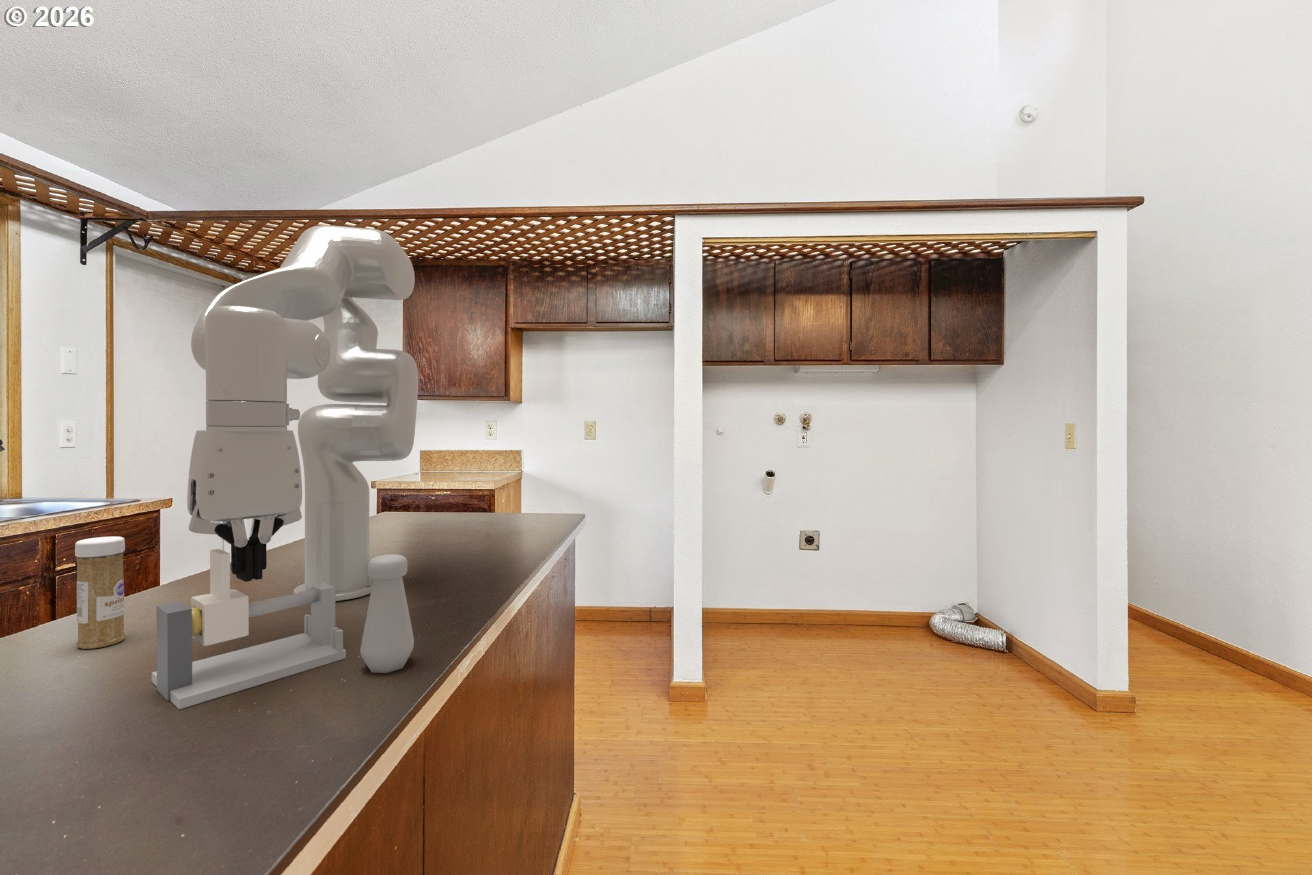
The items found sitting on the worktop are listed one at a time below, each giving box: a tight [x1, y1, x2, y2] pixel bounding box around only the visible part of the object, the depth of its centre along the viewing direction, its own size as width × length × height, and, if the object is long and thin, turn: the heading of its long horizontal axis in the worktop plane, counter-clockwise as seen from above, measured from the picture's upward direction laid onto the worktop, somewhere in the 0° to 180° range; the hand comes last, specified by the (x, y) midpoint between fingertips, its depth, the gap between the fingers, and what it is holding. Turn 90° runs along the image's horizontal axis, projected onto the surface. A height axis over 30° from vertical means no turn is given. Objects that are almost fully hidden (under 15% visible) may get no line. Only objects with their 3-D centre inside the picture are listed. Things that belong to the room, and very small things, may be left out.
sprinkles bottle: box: [74, 536, 126, 650], centre depth 73 cm, size 5×5×14 cm
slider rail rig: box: [151, 583, 347, 710], centre depth 66 cm, size 16×10×9 cm, turn 143°
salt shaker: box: [359, 553, 415, 674], centre depth 67 cm, size 6×6×13 cm
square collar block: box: [190, 548, 250, 647], centre depth 63 cm, size 4×4×9 cm
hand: (249, 578), depth 65 cm, fingers closed
